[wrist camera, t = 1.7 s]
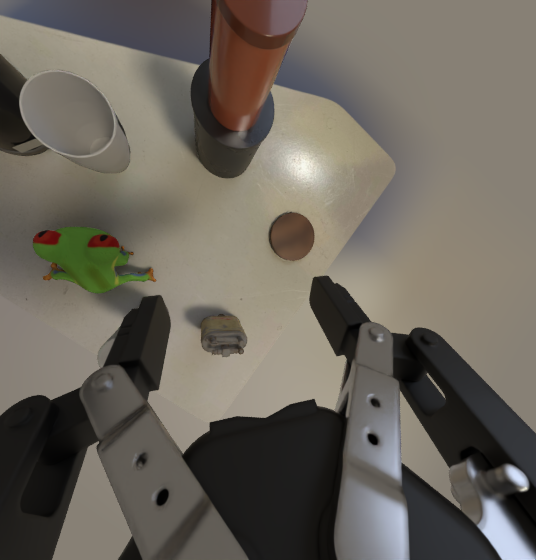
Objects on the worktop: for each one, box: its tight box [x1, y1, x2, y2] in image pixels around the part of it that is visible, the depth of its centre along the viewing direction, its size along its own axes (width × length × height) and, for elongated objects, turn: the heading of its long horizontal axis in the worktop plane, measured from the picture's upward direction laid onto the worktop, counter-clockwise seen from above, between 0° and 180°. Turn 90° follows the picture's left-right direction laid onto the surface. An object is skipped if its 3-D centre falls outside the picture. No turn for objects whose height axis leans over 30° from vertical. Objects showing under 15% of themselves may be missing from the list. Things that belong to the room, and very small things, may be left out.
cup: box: [19, 70, 130, 173], centre depth 27 cm, size 8×8×10 cm
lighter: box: [201, 314, 247, 357], centre depth 35 cm, size 7×4×10 cm, turn 85°
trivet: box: [270, 213, 314, 261], centre depth 41 cm, size 9×9×1 cm
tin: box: [191, 59, 274, 178], centre depth 30 cm, size 10×10×12 cm
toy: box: [33, 227, 156, 293], centre depth 28 cm, size 14×9×10 cm, turn 86°
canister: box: [208, 0, 308, 131], centre depth 19 cm, size 6×6×12 cm
